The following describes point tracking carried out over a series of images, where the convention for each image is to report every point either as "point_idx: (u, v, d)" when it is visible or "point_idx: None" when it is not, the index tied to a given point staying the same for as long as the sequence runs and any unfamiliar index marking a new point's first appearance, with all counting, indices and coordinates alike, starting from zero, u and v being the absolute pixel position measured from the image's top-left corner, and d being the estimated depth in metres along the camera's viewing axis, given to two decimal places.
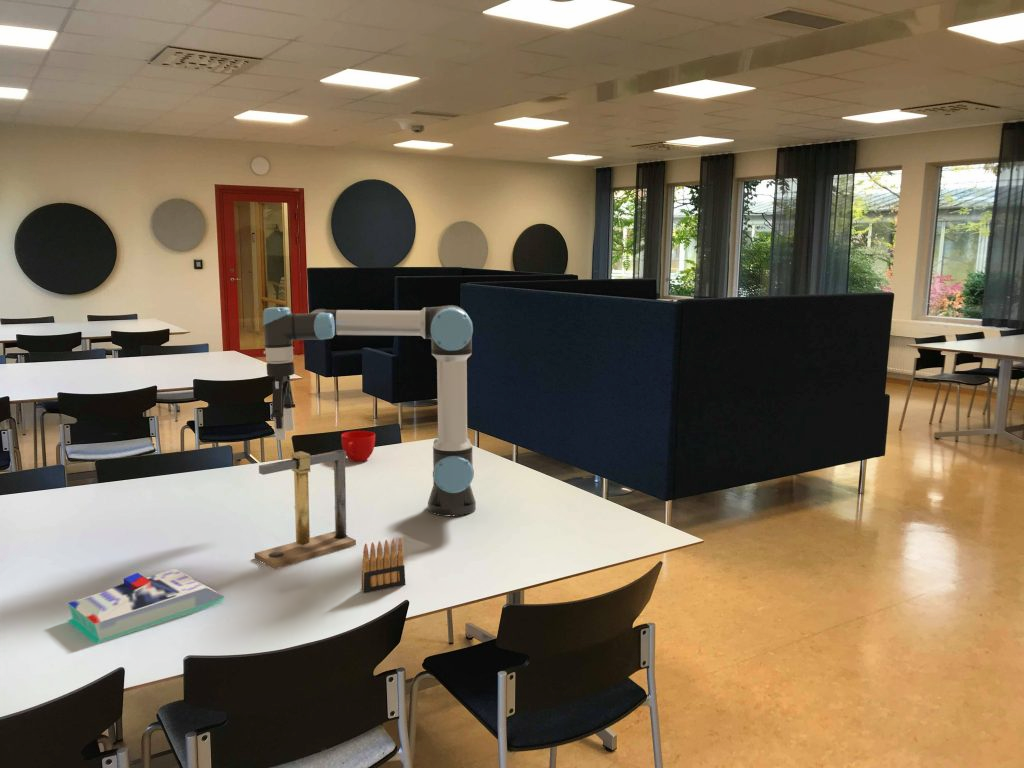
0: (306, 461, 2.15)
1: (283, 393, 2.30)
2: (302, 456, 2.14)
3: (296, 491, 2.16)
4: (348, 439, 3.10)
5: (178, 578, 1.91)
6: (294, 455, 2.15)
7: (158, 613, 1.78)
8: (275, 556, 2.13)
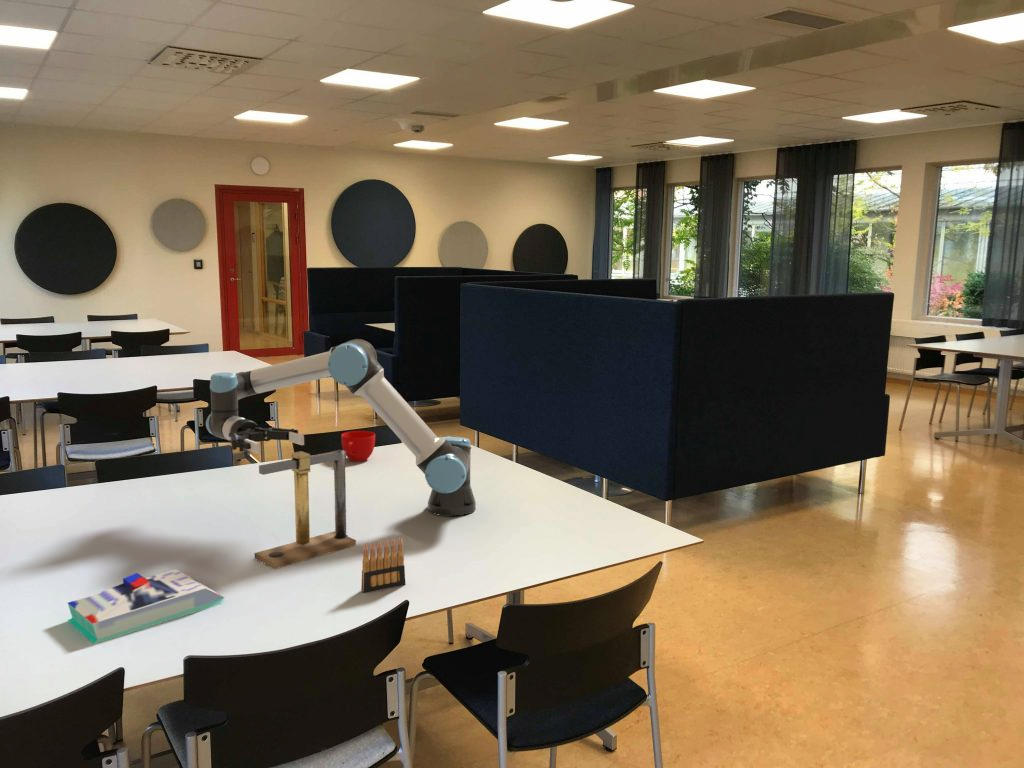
0: (306, 461, 2.15)
1: None
2: (302, 456, 2.14)
3: (296, 491, 2.16)
4: (348, 439, 3.10)
5: (178, 579, 1.91)
6: (294, 455, 2.15)
7: (157, 613, 1.78)
8: (275, 556, 2.13)
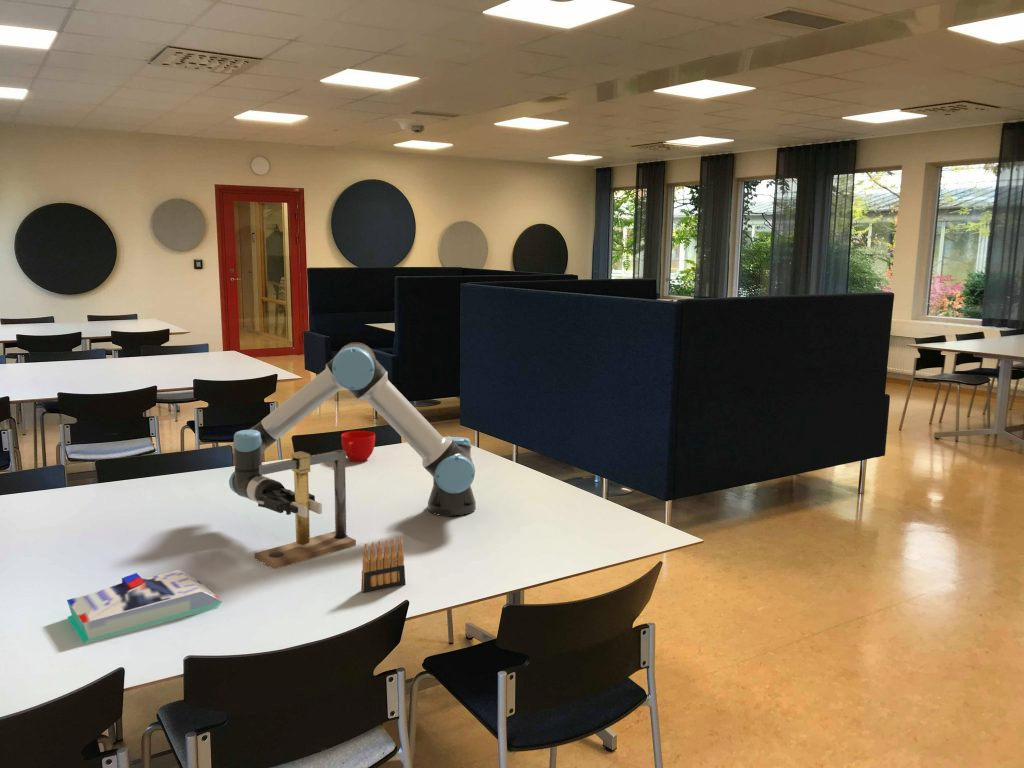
0: (306, 461, 2.15)
1: (276, 497, 2.22)
2: (302, 456, 2.14)
3: (296, 491, 2.16)
4: (348, 439, 3.10)
5: (179, 580, 1.90)
6: (294, 455, 2.15)
7: (150, 615, 1.77)
8: (275, 556, 2.13)
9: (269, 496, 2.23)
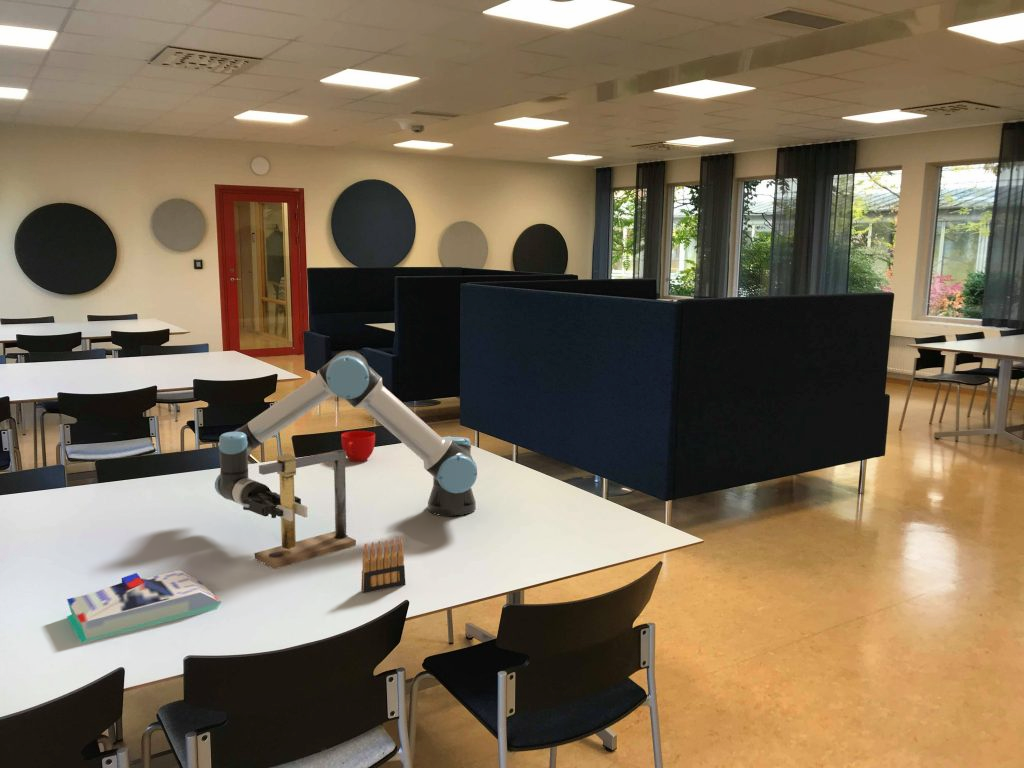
0: (292, 464, 2.12)
1: (262, 500, 2.19)
2: (287, 459, 2.11)
3: (281, 494, 2.13)
4: (348, 439, 3.10)
5: (179, 580, 1.90)
6: (279, 458, 2.12)
7: (149, 615, 1.77)
8: (275, 556, 2.13)
9: (254, 499, 2.20)
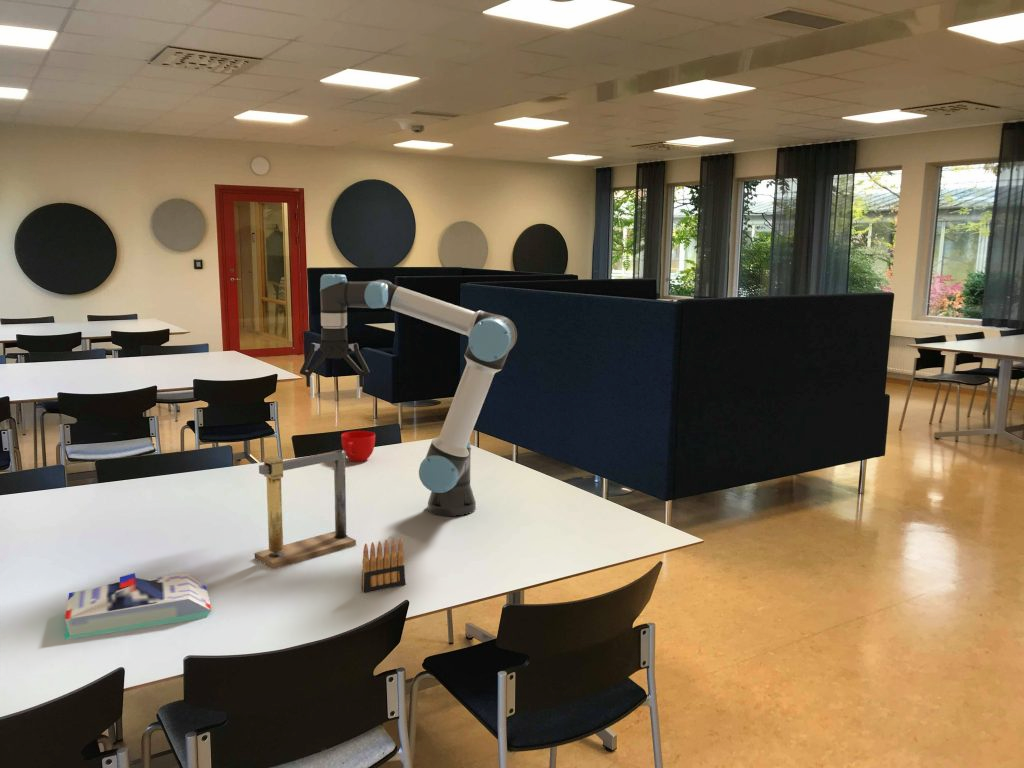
0: (279, 466, 2.09)
1: None
2: (274, 461, 2.08)
3: (268, 497, 2.10)
4: (348, 439, 3.10)
5: (179, 584, 1.88)
6: (266, 460, 2.09)
7: (134, 618, 1.75)
8: (275, 556, 2.13)
9: None
